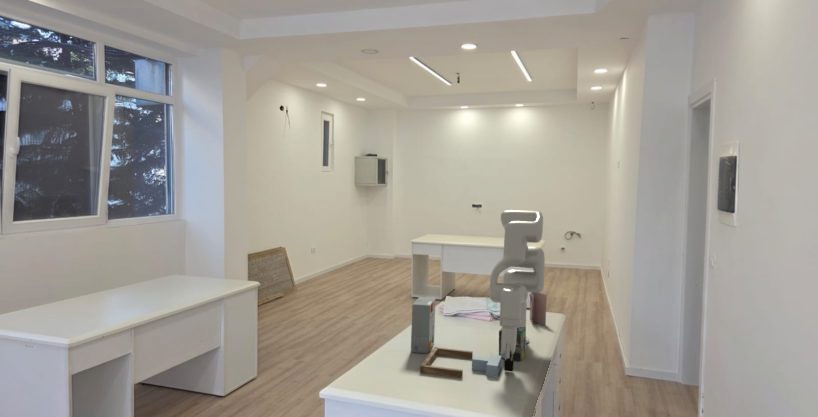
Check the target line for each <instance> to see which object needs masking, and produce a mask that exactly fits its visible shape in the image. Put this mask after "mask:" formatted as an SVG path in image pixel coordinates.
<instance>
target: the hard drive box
mask: <svg viewBox="0 0 818 417" xmlns="http://www.w3.org/2000/svg"><path fill="white" fill-rule="evenodd" d="M435 319H436V297H423V296H419V297H418V298H417V299H416V300H415V301H414V302H413V304H412V305H411V333H410V334H411V335H410V352H411V353H420V354H430V352H431V349H432V347H433V346H434V344H435V331H436V330H435V328H436V324H435V323H436V320H435Z"/></svg>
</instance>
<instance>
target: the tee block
mask: <svg viewBox="0 0 818 417" xmlns="http://www.w3.org/2000/svg"><path fill="white" fill-rule="evenodd" d="M501 357H502V356H500V355H499V354H492V353H491V354H490V356H489V357H486V356H480V355H473V357H472V359H471V370H472V371H479V372H480V371H481V372H485V373H486V374H485V375H486V376H488V377H497V378H498V376H499V372H500V370H501V367H502V358H501Z"/></svg>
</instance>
